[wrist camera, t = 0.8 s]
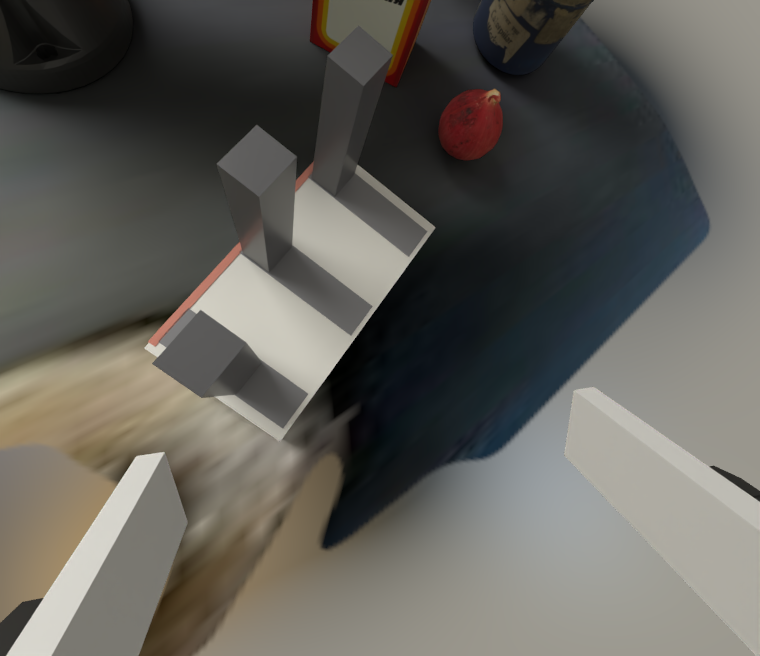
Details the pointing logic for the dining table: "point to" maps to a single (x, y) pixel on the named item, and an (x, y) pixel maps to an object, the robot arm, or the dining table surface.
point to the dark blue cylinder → (523, 30)
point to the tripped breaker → (208, 358)
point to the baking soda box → (371, 26)
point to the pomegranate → (471, 124)
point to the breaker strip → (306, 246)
